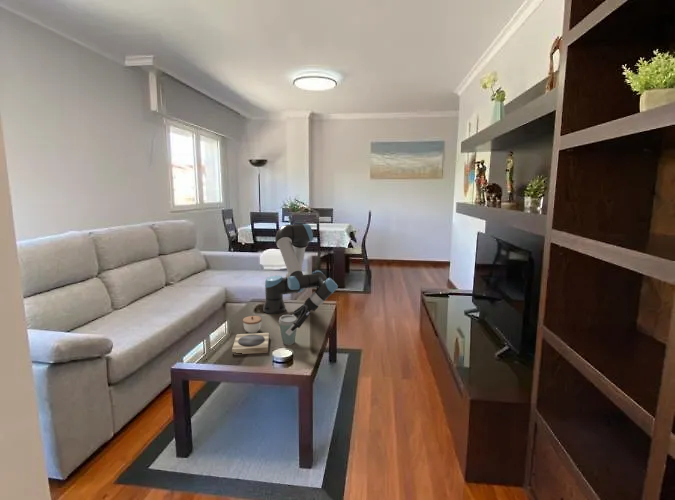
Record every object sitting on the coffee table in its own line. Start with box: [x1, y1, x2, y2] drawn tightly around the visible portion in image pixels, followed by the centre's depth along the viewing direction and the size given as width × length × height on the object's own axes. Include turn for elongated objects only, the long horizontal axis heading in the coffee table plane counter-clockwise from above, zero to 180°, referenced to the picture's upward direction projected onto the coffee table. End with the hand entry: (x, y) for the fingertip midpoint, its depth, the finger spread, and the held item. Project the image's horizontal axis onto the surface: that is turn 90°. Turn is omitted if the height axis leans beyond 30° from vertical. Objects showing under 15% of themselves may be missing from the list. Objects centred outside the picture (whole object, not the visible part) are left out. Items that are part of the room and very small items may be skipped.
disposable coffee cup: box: [278, 314, 298, 346], centre depth 198 cm, size 11×11×15 cm
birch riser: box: [231, 332, 270, 355], centre depth 195 cm, size 18×18×3 cm
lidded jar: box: [242, 315, 262, 334], centre depth 213 cm, size 11×11×9 cm
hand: (287, 328), depth 197 cm, fingers open, 13 cm apart
